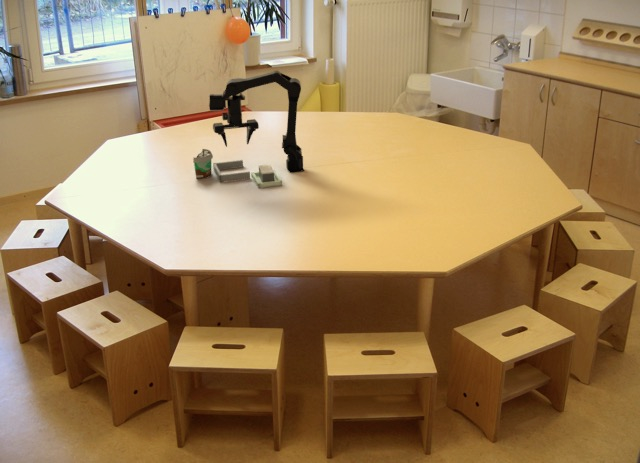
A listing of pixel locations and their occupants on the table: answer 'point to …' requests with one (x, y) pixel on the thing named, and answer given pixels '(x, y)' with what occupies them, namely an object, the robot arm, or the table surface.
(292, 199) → the table surface
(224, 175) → the bay
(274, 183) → the tray
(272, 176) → the beige gray rectangular block
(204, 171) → the food container
